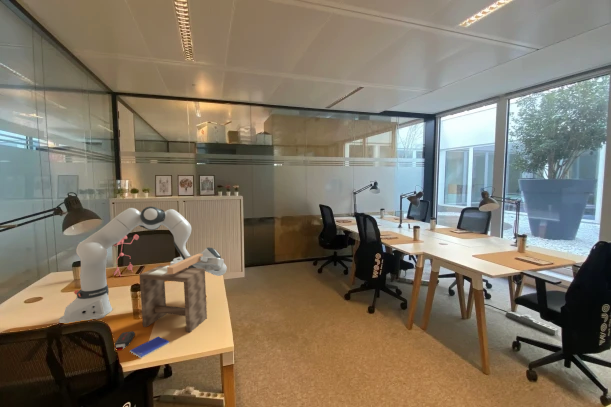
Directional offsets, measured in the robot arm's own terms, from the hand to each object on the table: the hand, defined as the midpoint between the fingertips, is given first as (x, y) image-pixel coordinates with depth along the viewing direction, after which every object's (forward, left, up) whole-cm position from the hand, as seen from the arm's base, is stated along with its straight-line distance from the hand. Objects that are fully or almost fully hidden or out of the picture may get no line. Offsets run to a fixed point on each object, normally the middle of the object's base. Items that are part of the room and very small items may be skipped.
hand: (196, 257), depth 154 cm
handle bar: (-7, -4, -2) cm, 8 cm away
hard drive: (-30, -14, -31) cm, 45 cm away
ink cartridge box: (+19, +64, -30) cm, 73 cm away
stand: (-13, -1, -30) cm, 32 cm away
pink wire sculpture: (-5, +106, -30) cm, 110 cm away
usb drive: (-36, -2, -30) cm, 47 cm away
